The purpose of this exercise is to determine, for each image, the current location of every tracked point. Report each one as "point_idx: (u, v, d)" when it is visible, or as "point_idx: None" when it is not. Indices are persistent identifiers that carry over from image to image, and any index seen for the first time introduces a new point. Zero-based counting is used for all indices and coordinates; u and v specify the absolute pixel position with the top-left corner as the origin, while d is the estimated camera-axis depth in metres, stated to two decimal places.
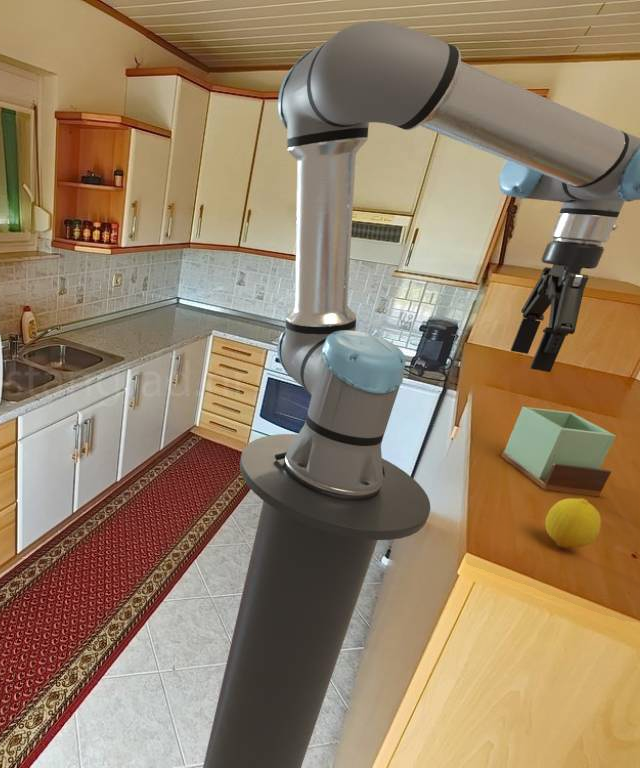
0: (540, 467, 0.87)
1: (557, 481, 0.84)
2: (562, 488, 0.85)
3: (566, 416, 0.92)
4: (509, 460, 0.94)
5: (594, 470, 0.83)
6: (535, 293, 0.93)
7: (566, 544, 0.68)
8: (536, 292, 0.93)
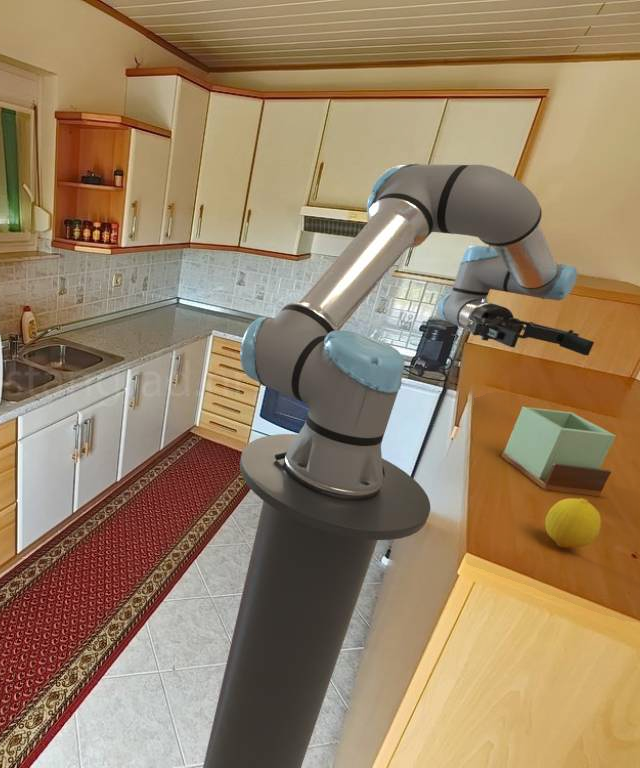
0: (540, 467, 0.87)
1: (557, 481, 0.84)
2: (562, 488, 0.85)
3: (566, 416, 0.92)
4: (509, 460, 0.94)
5: (594, 470, 0.83)
6: None
7: (566, 544, 0.68)
8: None
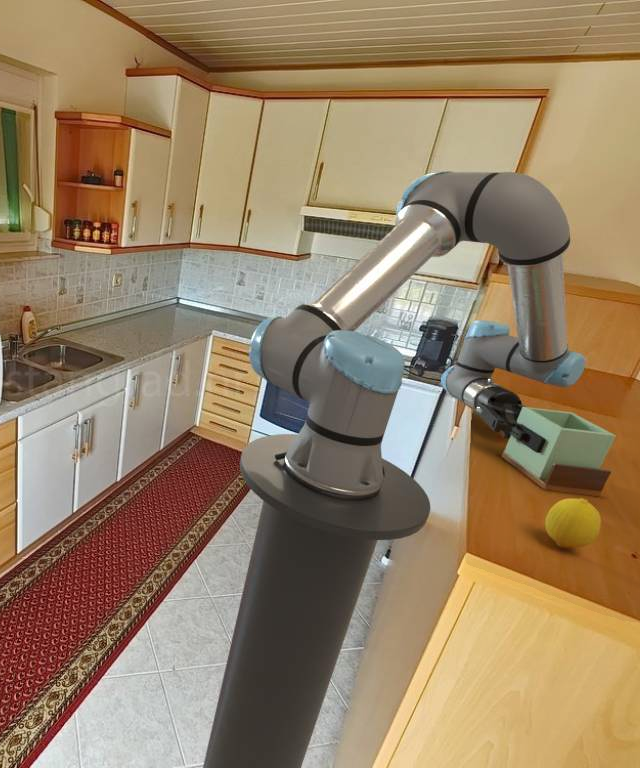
0: (540, 467, 0.87)
1: (557, 481, 0.84)
2: (562, 488, 0.85)
3: (566, 416, 0.92)
4: (509, 460, 0.94)
5: (594, 470, 0.83)
6: None
7: (566, 544, 0.68)
8: None
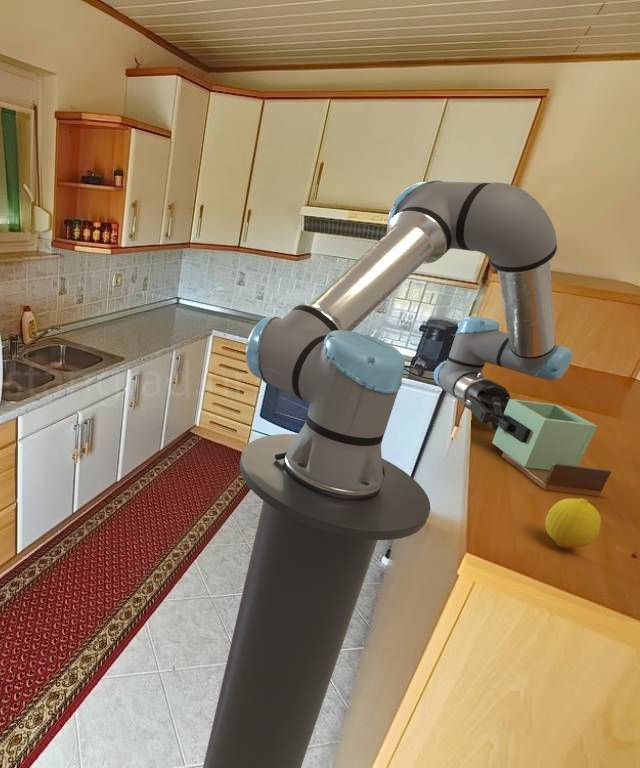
0: (525, 456, 0.90)
1: (557, 481, 0.84)
2: (562, 488, 0.85)
3: (551, 408, 0.95)
4: (509, 460, 0.94)
5: (594, 470, 0.83)
6: None
7: (566, 544, 0.68)
8: None
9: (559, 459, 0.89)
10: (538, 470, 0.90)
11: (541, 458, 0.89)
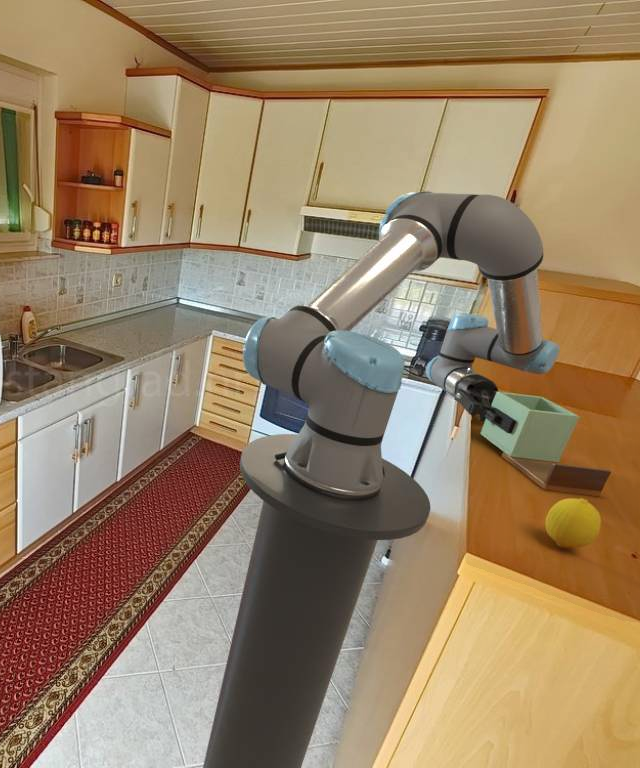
0: (511, 446, 0.94)
1: (557, 481, 0.84)
2: (562, 488, 0.85)
3: (536, 400, 0.99)
4: (509, 460, 0.94)
5: (594, 470, 0.83)
6: None
7: (566, 544, 0.68)
8: None
9: (543, 449, 0.93)
10: (538, 470, 0.90)
11: (526, 447, 0.93)
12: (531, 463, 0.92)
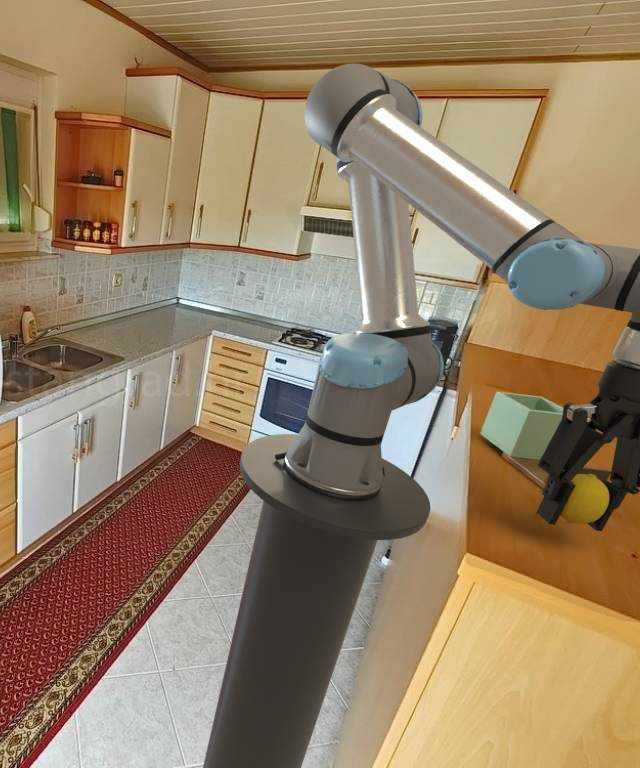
0: (511, 446, 0.94)
1: None
2: None
3: (536, 400, 0.99)
4: (509, 460, 0.94)
5: (594, 470, 0.83)
6: None
7: (573, 520, 0.67)
8: None
9: (543, 449, 0.93)
10: (538, 470, 0.90)
11: (526, 447, 0.93)
12: (531, 463, 0.92)
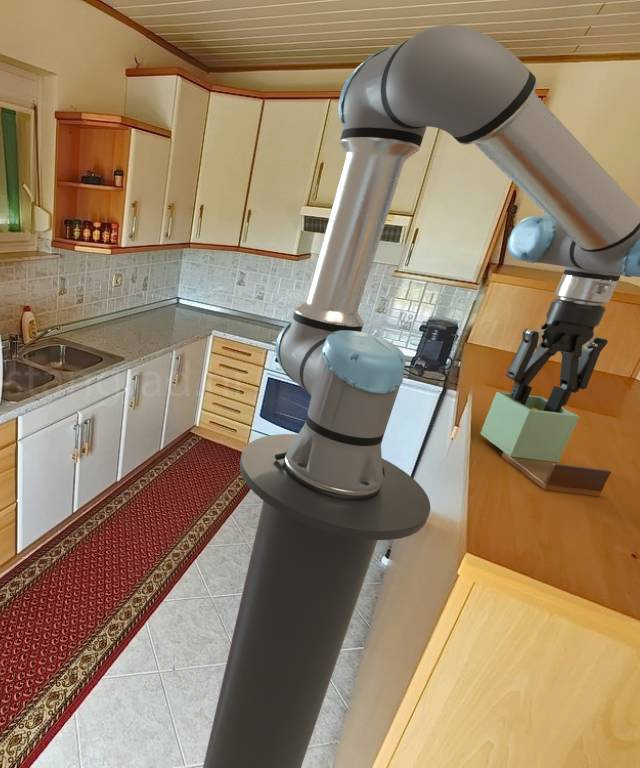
0: (511, 446, 0.94)
1: (557, 481, 0.84)
2: (562, 488, 0.85)
3: (536, 400, 0.99)
4: (509, 460, 0.94)
5: (594, 470, 0.83)
6: (579, 361, 0.92)
7: None
8: (580, 359, 0.92)
9: (543, 449, 0.93)
10: (538, 470, 0.90)
11: (526, 447, 0.93)
12: (531, 463, 0.92)
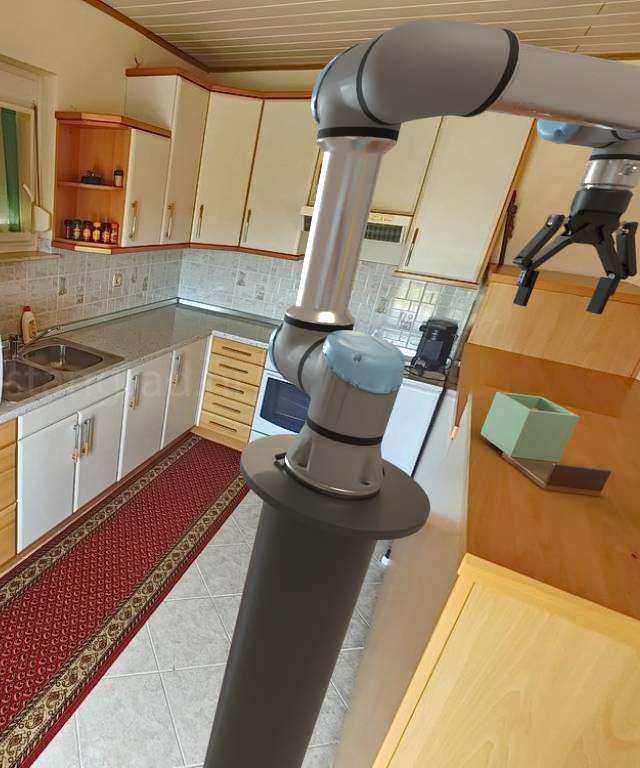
0: (511, 446, 0.94)
1: (557, 481, 0.84)
2: (562, 488, 0.85)
3: (537, 400, 0.99)
4: (509, 460, 0.94)
5: (594, 470, 0.83)
6: (618, 250, 0.89)
7: None
8: (618, 249, 0.89)
9: (543, 449, 0.93)
10: (538, 470, 0.90)
11: (526, 447, 0.93)
12: (531, 463, 0.92)
